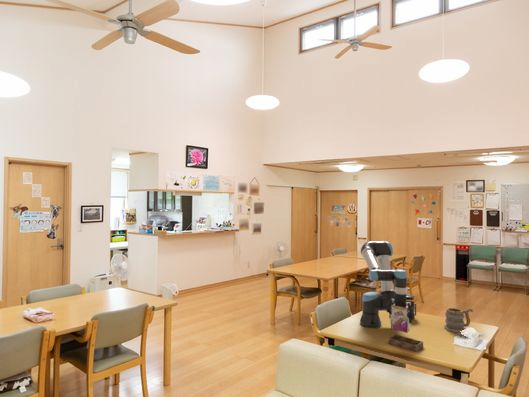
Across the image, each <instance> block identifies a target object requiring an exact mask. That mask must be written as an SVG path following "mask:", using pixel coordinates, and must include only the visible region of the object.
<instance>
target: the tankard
mask: <svg viewBox="0 0 529 397" xmlns="http://www.w3.org/2000/svg"><path fill="white" fill-rule="evenodd" d="M470 312H471V313H473V312H474V310H473V309H472V308H470V307H469V308H466V309H465V310H464V309H463V310H462V309H460V308H456V307H448V308H446V312H445V317H446V318H445V323H446V325H443V329H445V330H447V331H448V332H451V333H461V332H460V331H462V330H464V329H465V330H466V327H469V326H470V324H471V319H470V316H469V314H470ZM464 318H465V319H466V322H465V320H464Z"/></svg>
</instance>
